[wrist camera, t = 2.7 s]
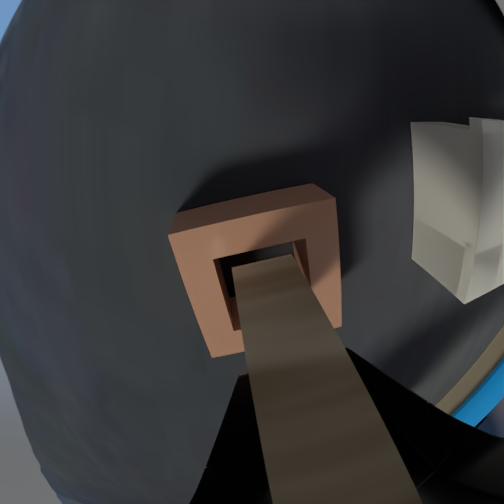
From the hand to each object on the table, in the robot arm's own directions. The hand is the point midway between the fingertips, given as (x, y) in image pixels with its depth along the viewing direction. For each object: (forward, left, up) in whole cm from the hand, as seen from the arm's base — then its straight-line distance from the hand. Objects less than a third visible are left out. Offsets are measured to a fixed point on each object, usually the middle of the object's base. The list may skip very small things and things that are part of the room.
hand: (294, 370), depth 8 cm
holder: (0, 0, -8) cm, 8 cm away
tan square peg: (0, 0, -5) cm, 5 cm away
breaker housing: (+3, -16, -8) cm, 18 cm away
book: (-29, -28, -9) cm, 41 cm away
